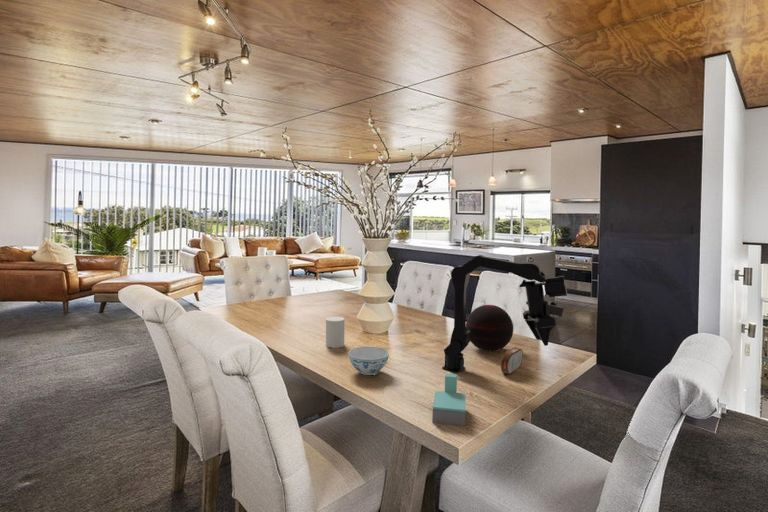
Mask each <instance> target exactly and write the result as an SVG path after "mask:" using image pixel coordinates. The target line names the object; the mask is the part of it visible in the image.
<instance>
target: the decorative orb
mask: <svg viewBox="0 0 768 512" xmlns="http://www.w3.org/2000/svg"><path fill="white" fill-rule="evenodd" d="M466 329H467V331H471V333H470V339H471V341H470V343H471V344H472V345H474V347H475V348H477V349H479V350H480V351H485V352H496V351H500V350H502V349H504V348H506V347H507V345H508V344H509V343H510V342H511V340H512V338H513V336H514V335H513V334H514V324H513V321H512V317H511V316H510V315H509V314H508V312H507V311H505V309H503V308H502V307H500V306H498V305H493V304H484V305H480V306H478V307H477V308H474V309H473V310H472V311H471V312H470V313H469V315H468V317H467V318H466Z"/></svg>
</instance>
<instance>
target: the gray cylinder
mask: <svg viewBox="0 0 768 512" xmlns="http://www.w3.org/2000/svg"><path fill="white" fill-rule="evenodd" d="M325 346H327V347H326V348H329V347H332V348H331V349H340V348H339V347H341V348H343V347H345V318H344V317H342V316H329V317H326V318H325ZM342 346H343V347H342Z"/></svg>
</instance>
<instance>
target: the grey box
mask: <svg viewBox="0 0 768 512" xmlns="http://www.w3.org/2000/svg"><path fill="white" fill-rule="evenodd" d="M431 418H432V419H431V420H432V424H440V425H441V424H442V425H451V426H460V427H465V425H466V411H465V412H460V411H450V410H440V409H433V408H432V417H431Z"/></svg>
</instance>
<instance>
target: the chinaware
mask: <svg viewBox="0 0 768 512" xmlns="http://www.w3.org/2000/svg"><path fill="white" fill-rule="evenodd" d="M389 356H390V351H389V350H388V349H386V348H383V347H380V346H373V345H372V346H371V345H370V346H369V345H368V346H366V345H365V346H358V347H354V348H351V349H350V350H349V351H348V358H349V361H350V363H351V366H353V368H354V369H355V370H357V371H358V372H360V373H361V374H364V375H374V374H376V375H378V373H379V372H380V371H381V370H382V369H383V368H384V367H385V366H386V364H387V362H388V360H389ZM360 373H359V374H360ZM361 374H360V375H361ZM374 376H375V375H374Z"/></svg>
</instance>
